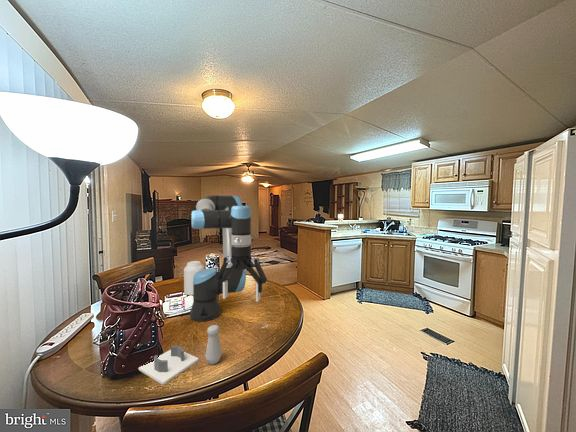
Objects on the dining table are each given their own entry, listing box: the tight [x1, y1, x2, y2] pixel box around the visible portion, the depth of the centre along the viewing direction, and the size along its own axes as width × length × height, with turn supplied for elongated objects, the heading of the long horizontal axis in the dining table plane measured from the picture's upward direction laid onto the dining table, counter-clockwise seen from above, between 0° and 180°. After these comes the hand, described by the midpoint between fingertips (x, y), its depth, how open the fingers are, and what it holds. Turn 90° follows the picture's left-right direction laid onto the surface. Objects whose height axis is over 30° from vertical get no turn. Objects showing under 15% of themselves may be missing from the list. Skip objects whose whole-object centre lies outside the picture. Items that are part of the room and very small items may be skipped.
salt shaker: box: [204, 324, 222, 366], centre depth 89 cm, size 6×6×13 cm
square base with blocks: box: [137, 345, 199, 386], centre depth 86 cm, size 14×14×4 cm
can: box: [183, 260, 205, 296], centre depth 158 cm, size 12×12×20 cm
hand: (241, 298), depth 94 cm, fingers open, 13 cm apart
